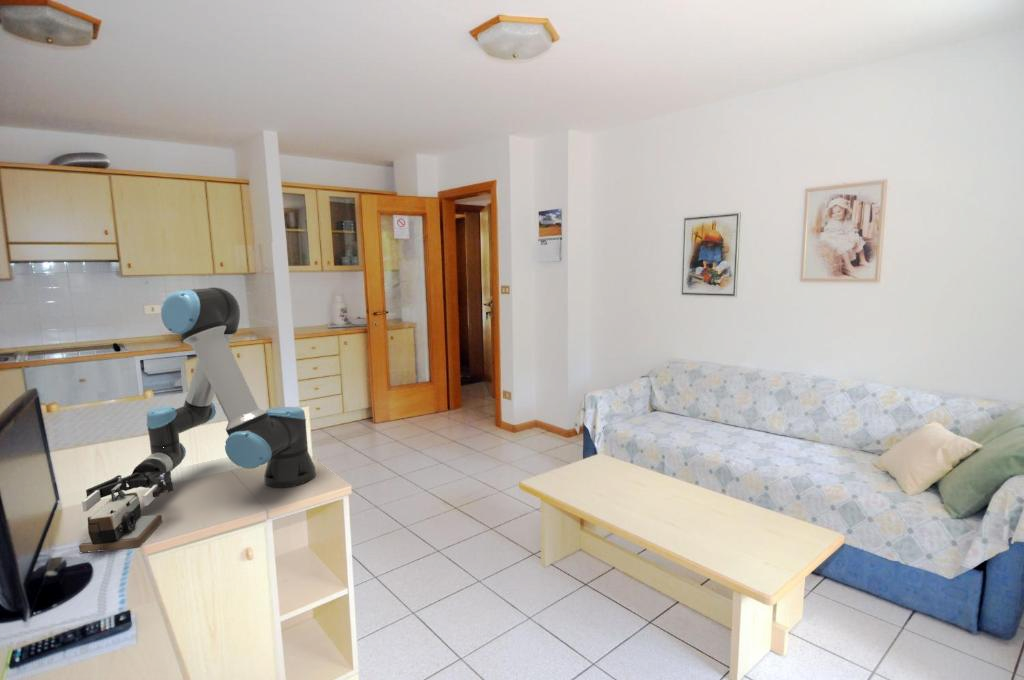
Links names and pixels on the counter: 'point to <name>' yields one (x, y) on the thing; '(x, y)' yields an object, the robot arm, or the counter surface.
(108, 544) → the walnut stand
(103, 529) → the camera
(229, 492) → the counter surface
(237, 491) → the counter surface
